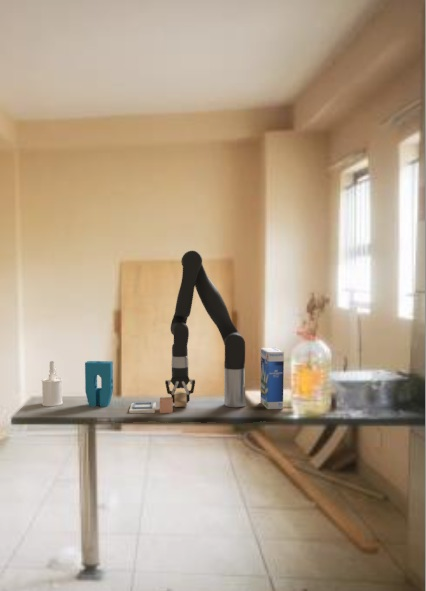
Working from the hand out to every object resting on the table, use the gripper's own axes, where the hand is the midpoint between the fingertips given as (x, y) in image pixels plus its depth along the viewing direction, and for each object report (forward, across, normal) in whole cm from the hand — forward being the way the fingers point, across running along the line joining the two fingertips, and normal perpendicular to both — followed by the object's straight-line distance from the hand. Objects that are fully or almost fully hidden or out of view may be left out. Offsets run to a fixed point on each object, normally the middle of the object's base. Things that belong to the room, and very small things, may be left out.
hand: (180, 402), depth 237 cm
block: (+2, +37, -5) cm, 38 cm away
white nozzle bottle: (+2, +59, -8) cm, 60 cm away
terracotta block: (+2, +6, +7) cm, 9 cm away
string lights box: (+3, -42, +1) cm, 42 cm away
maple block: (+1, 0, 0) cm, 1 cm away
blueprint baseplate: (+2, +17, +3) cm, 17 cm away
